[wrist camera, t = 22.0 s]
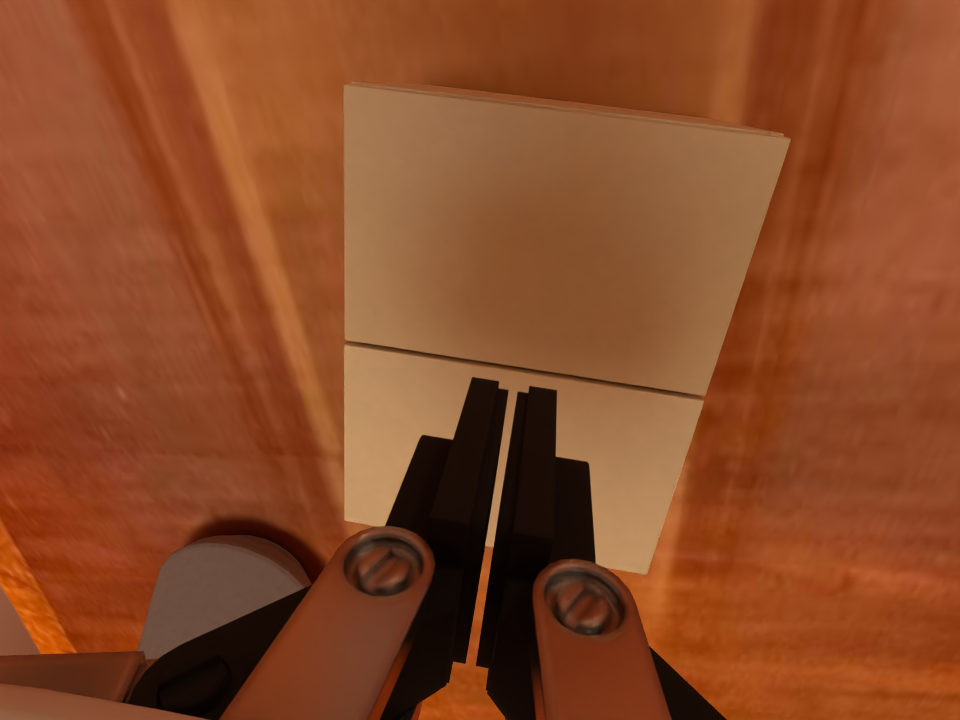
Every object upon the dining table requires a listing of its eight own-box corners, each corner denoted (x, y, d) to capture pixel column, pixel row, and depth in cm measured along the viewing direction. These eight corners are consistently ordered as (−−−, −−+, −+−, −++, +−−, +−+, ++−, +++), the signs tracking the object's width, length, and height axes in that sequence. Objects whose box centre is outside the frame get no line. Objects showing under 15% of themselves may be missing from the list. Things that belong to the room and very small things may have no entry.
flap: (347, 83, 17) (342, 83, 16) (786, 137, 16) (792, 138, 15) (347, 335, 20) (344, 340, 20) (703, 390, 19) (705, 396, 19)
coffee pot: (303, 506, 37) (158, 739, 24) (354, 627, 42) (256, 879, 29) (44, 528, 42) (-200, 734, 28) (116, 635, 46) (-65, 856, 33)
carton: (420, 83, 25) (341, 80, 16) (708, 118, 24) (794, 135, 15) (403, 402, 33) (342, 522, 24) (623, 437, 32) (647, 577, 23)
